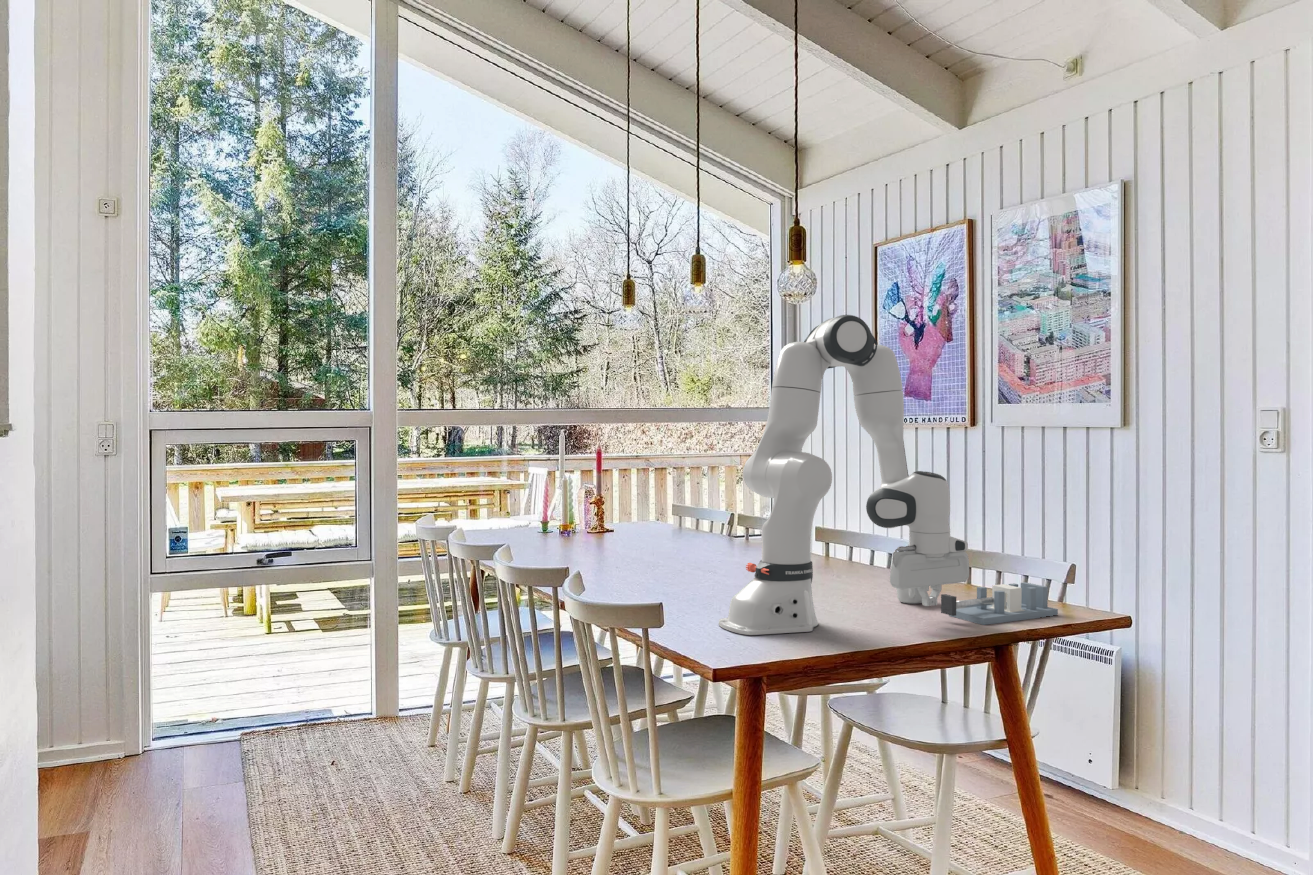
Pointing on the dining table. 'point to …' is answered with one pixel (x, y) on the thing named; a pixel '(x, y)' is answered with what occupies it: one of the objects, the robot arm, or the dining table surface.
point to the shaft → (961, 603)
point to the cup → (909, 595)
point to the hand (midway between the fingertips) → (929, 605)
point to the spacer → (1009, 596)
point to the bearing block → (1031, 607)
